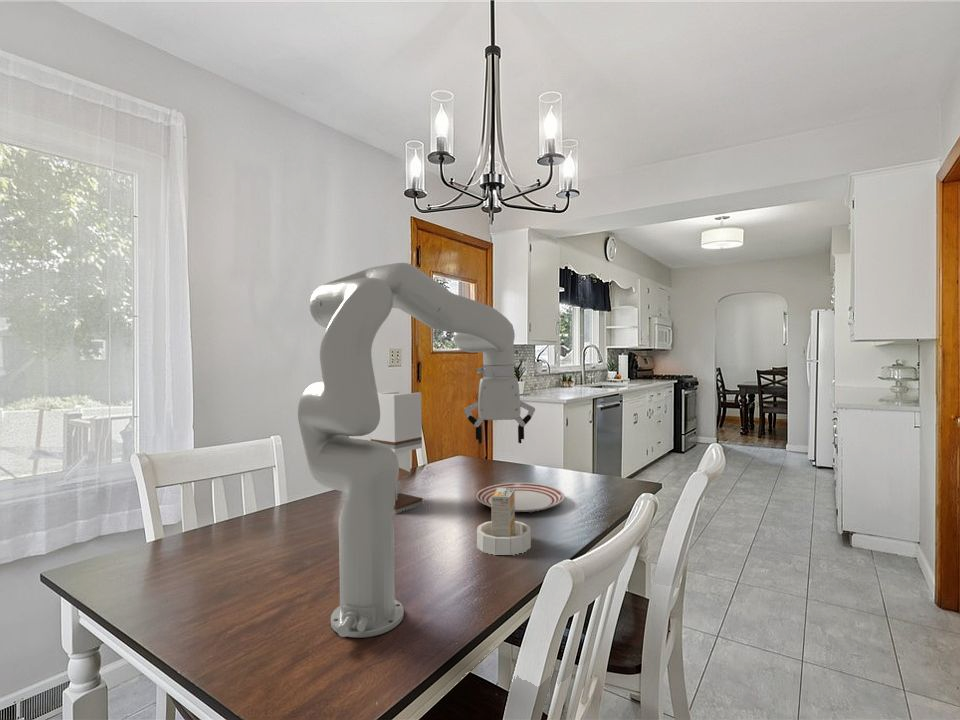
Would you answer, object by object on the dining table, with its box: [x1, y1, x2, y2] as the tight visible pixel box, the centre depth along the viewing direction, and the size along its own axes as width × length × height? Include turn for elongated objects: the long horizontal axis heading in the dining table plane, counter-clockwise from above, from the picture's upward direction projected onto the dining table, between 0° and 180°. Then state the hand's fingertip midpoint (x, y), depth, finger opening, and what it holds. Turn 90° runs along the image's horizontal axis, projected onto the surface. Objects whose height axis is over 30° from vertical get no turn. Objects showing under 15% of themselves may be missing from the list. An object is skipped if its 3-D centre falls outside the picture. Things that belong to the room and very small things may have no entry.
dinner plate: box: [475, 482, 566, 513], centre depth 157 cm, size 27×27×3 cm
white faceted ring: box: [476, 520, 532, 556], centre depth 123 cm, size 13×13×4 cm
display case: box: [370, 390, 424, 515], centre depth 156 cm, size 11×11×35 cm
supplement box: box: [490, 488, 516, 537], centre depth 123 cm, size 8×5×13 cm, turn 168°
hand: (500, 442), depth 123 cm, fingers open, 9 cm apart
